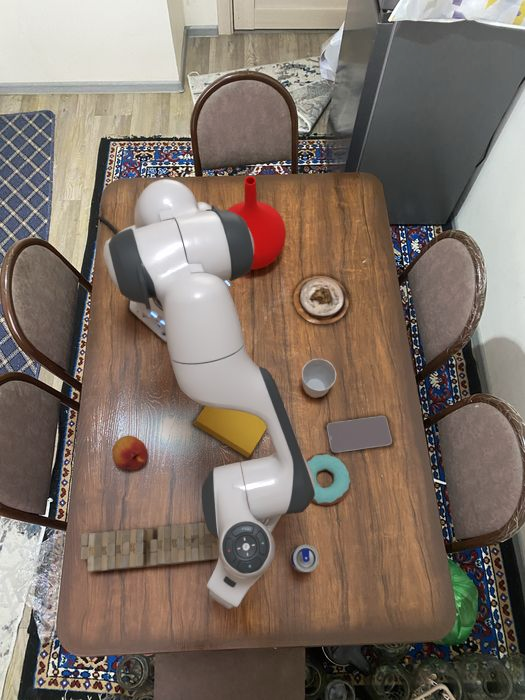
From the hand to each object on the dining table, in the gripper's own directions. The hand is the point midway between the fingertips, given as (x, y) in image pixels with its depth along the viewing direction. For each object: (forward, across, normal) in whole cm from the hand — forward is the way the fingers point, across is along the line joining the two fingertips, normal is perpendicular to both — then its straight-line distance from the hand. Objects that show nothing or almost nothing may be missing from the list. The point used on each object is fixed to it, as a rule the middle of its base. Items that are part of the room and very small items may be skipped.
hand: (249, 552), depth 102 cm
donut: (+15, -23, +6) cm, 28 cm away
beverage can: (+15, -5, +10) cm, 19 cm away
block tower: (+15, +10, -19) cm, 26 cm away
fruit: (+15, -4, -36) cm, 39 cm away
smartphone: (+15, -37, +8) cm, 41 cm away
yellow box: (+15, -25, -20) cm, 35 cm away
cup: (+15, -42, -7) cm, 45 cm away
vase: (+15, -68, -42) cm, 81 cm away
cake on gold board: (+15, -65, -18) cm, 69 cm away
